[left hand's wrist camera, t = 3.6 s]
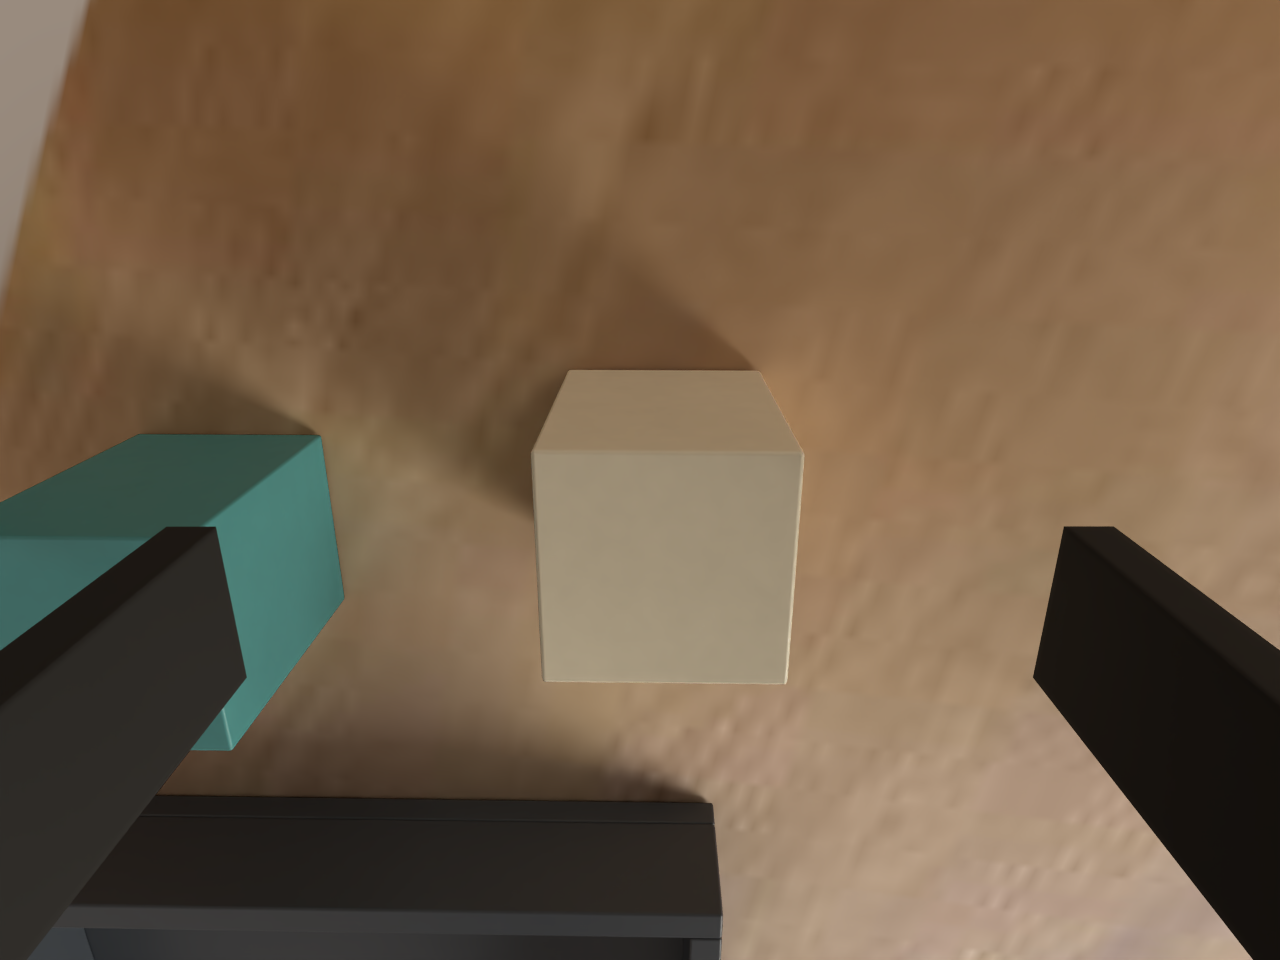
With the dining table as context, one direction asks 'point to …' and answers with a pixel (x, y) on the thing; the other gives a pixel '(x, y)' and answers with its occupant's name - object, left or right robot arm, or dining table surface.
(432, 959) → the tray
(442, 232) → the dining table surface
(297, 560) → the teal block
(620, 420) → the cream block
